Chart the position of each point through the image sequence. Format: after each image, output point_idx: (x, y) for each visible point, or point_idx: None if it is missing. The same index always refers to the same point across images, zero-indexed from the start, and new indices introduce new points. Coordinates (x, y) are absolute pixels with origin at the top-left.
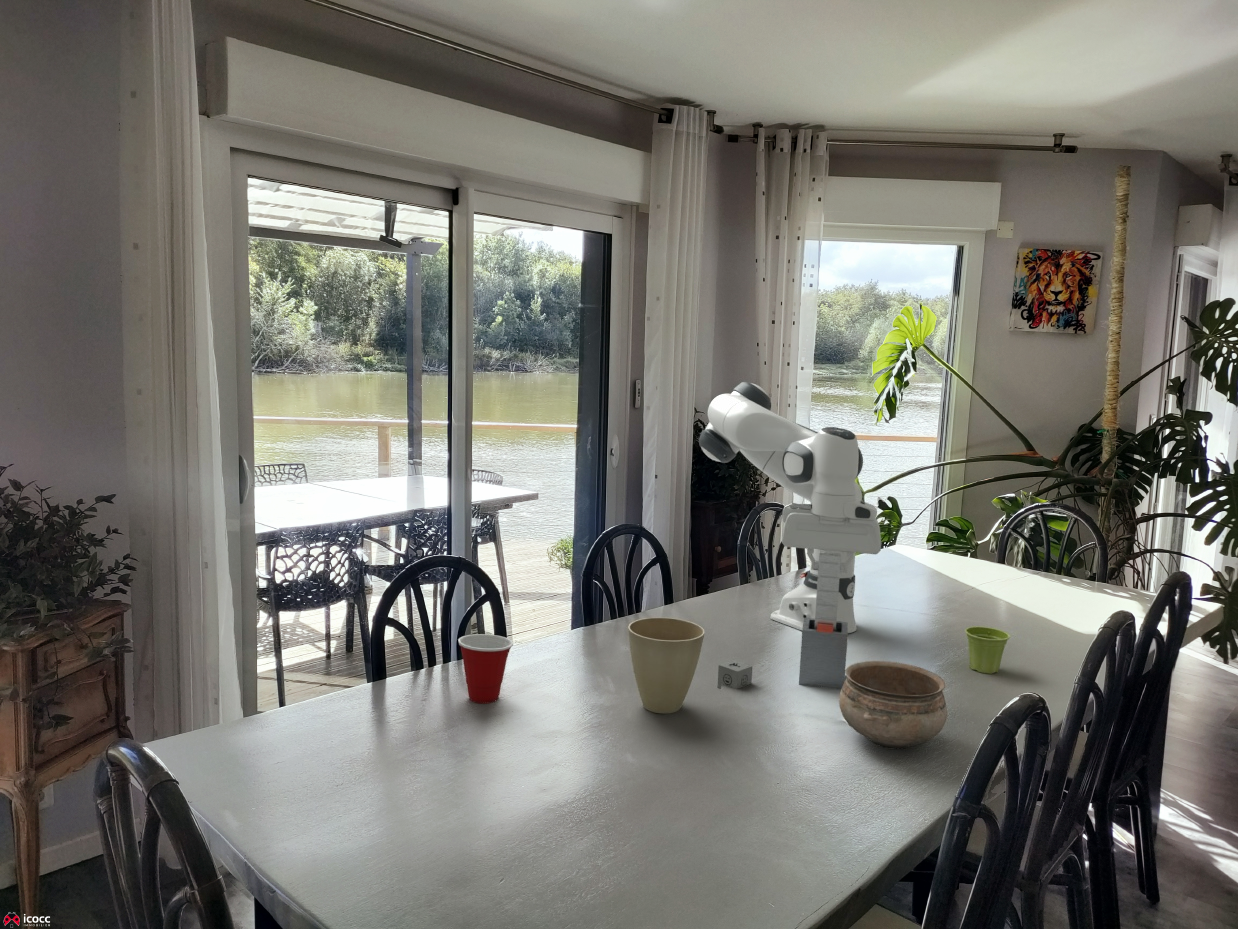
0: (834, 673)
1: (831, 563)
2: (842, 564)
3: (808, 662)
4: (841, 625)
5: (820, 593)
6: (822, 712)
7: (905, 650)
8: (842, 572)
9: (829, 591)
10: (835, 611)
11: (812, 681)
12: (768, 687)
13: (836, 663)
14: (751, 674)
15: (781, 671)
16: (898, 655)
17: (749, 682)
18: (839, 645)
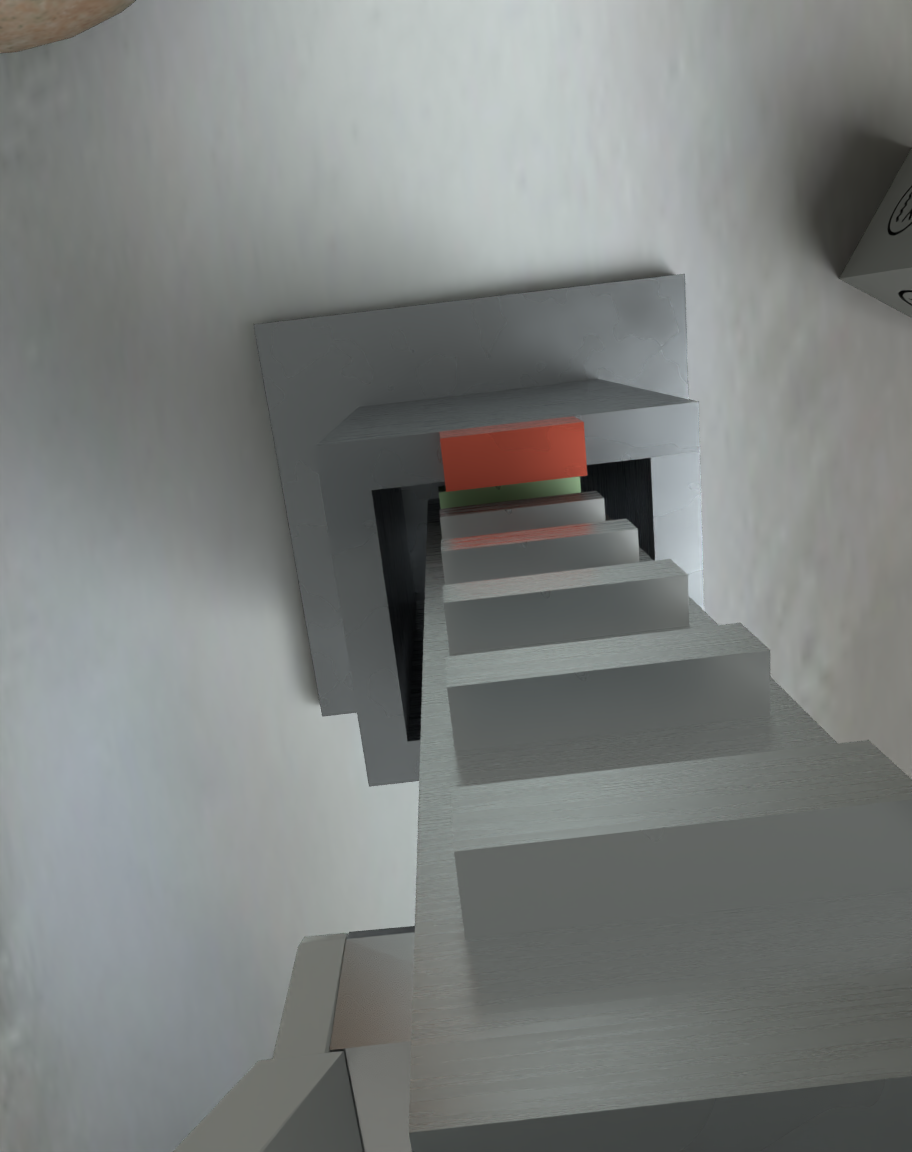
0: (411, 408)
1: (640, 881)
2: (387, 1063)
3: (578, 391)
4: (409, 733)
5: (652, 569)
6: (429, 88)
7: (180, 1130)
8: (386, 937)
9: (542, 630)
10: (441, 577)
11: (530, 389)
12: (750, 343)
13: (400, 413)
14: (886, 266)
15: (706, 610)
16: (198, 1057)
17: (870, 255)
18: (382, 429)
